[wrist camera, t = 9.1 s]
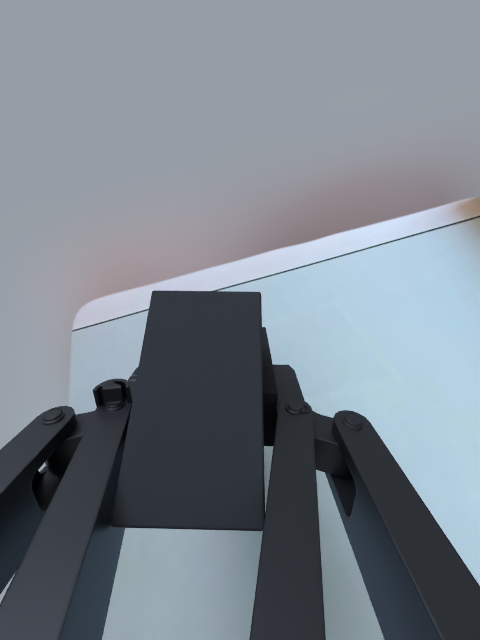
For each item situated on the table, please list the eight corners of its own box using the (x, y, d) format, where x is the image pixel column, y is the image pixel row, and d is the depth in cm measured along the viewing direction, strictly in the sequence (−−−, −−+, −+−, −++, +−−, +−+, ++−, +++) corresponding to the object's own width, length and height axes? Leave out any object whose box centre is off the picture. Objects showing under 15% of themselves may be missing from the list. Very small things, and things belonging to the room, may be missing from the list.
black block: (189, 469, 17) (107, 528, 6) (198, 363, 19) (151, 289, 9) (251, 471, 16) (265, 532, 6) (251, 364, 19) (261, 291, 9)
